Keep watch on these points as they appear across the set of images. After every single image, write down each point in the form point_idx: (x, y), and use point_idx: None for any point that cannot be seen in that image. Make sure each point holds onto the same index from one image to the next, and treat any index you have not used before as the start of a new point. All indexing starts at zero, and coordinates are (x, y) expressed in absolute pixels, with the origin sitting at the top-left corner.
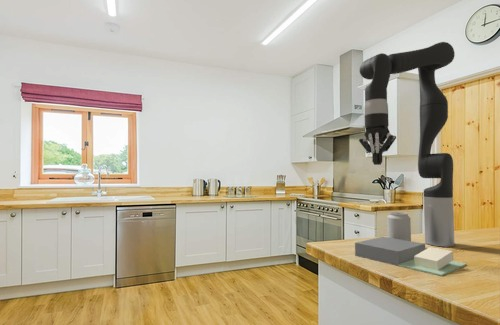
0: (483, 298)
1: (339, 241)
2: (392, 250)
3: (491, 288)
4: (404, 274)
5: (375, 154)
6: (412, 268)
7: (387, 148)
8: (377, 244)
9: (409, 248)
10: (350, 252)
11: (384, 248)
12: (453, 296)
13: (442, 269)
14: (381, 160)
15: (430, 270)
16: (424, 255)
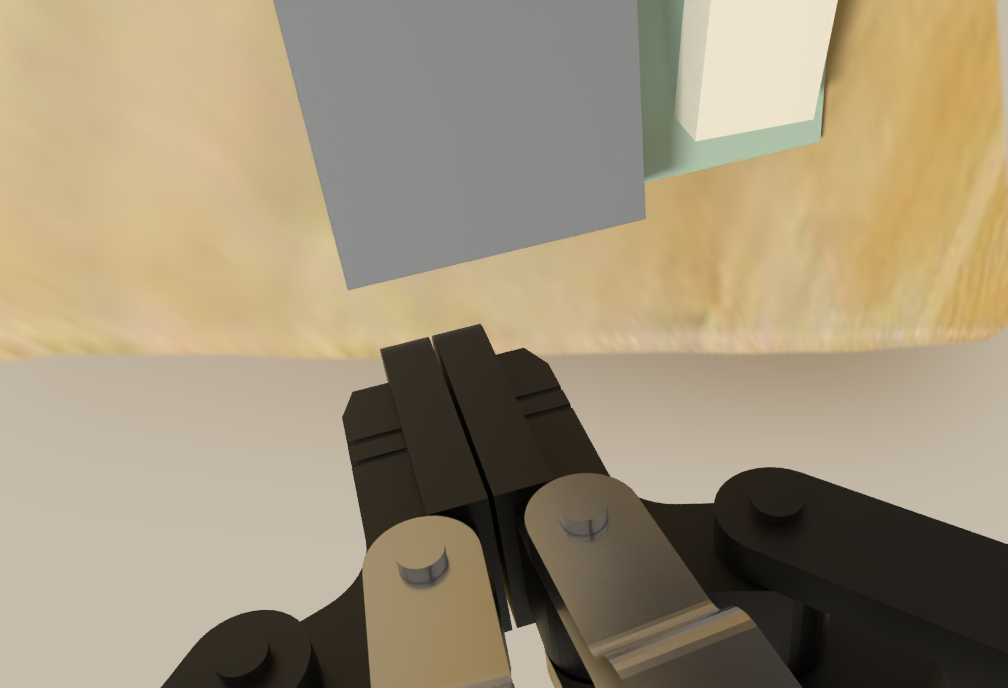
0: (980, 228)
1: None
2: (612, 226)
3: (990, 98)
4: (702, 265)
5: (503, 606)
6: (689, 171)
7: (849, 539)
8: (461, 192)
9: (639, 85)
10: (255, 224)
11: (559, 235)
12: (909, 299)
13: None
14: (547, 398)
15: (764, 129)
16: (737, 94)
